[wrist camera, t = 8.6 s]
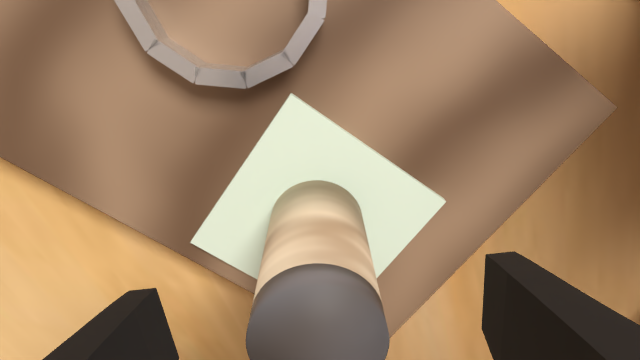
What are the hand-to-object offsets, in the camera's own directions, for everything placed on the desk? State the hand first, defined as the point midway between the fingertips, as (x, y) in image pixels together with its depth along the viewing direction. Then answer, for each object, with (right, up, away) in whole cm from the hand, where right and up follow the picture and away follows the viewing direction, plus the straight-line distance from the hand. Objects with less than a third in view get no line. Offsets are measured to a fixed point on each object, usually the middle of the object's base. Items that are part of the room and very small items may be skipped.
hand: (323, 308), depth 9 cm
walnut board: (-2, +6, +9) cm, 11 cm away
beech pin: (0, +1, +9) cm, 9 cm away
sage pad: (0, +1, +9) cm, 9 cm away
